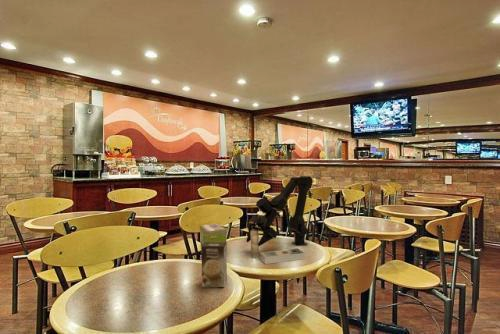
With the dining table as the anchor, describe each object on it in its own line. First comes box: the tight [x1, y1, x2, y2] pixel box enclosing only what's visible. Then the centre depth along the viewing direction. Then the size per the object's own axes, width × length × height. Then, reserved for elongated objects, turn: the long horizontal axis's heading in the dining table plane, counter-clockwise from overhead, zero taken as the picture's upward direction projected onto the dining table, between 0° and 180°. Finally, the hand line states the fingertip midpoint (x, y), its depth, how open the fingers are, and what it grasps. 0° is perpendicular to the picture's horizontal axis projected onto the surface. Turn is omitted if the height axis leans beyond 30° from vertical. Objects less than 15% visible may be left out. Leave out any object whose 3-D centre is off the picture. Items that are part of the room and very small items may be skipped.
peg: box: [250, 230, 260, 259], centre depth 147 cm, size 4×4×13 cm
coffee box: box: [200, 242, 228, 288], centre depth 115 cm, size 9×6×16 cm
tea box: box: [199, 223, 228, 254], centre depth 152 cm, size 15×10×15 cm, turn 25°
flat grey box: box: [259, 248, 306, 265], centre depth 143 cm, size 8×20×3 cm, turn 106°
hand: (252, 243), depth 146 cm, fingers open, 9 cm apart
